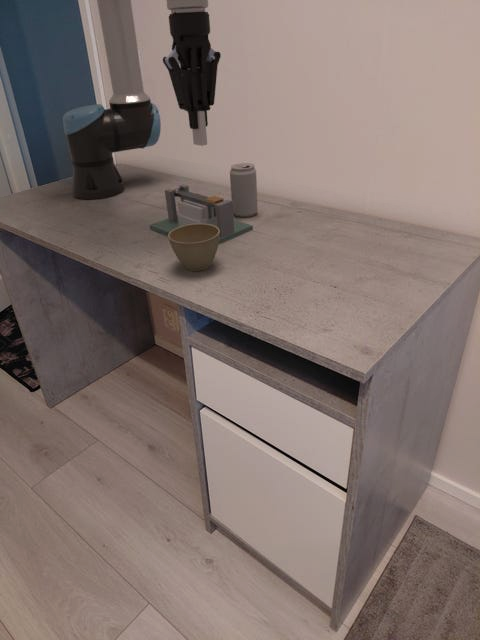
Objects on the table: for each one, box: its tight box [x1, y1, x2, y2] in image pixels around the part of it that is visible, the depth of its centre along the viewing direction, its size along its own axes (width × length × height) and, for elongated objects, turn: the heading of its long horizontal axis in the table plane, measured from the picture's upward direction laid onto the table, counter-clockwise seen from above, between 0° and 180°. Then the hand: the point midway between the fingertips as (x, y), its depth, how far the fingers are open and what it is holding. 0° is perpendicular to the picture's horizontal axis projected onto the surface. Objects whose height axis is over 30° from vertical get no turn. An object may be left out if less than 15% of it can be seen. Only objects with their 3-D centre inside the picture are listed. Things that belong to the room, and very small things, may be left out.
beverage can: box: [229, 162, 259, 218], centre depth 116 cm, size 6×6×12 cm
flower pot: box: [167, 223, 220, 272], centre depth 93 cm, size 10×10×7 cm
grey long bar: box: [172, 188, 225, 208], centre depth 108 cm, size 16×3×2 cm, turn 45°
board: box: [149, 184, 254, 245], centre depth 110 cm, size 20×15×8 cm
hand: (200, 144), depth 100 cm, fingers closed
